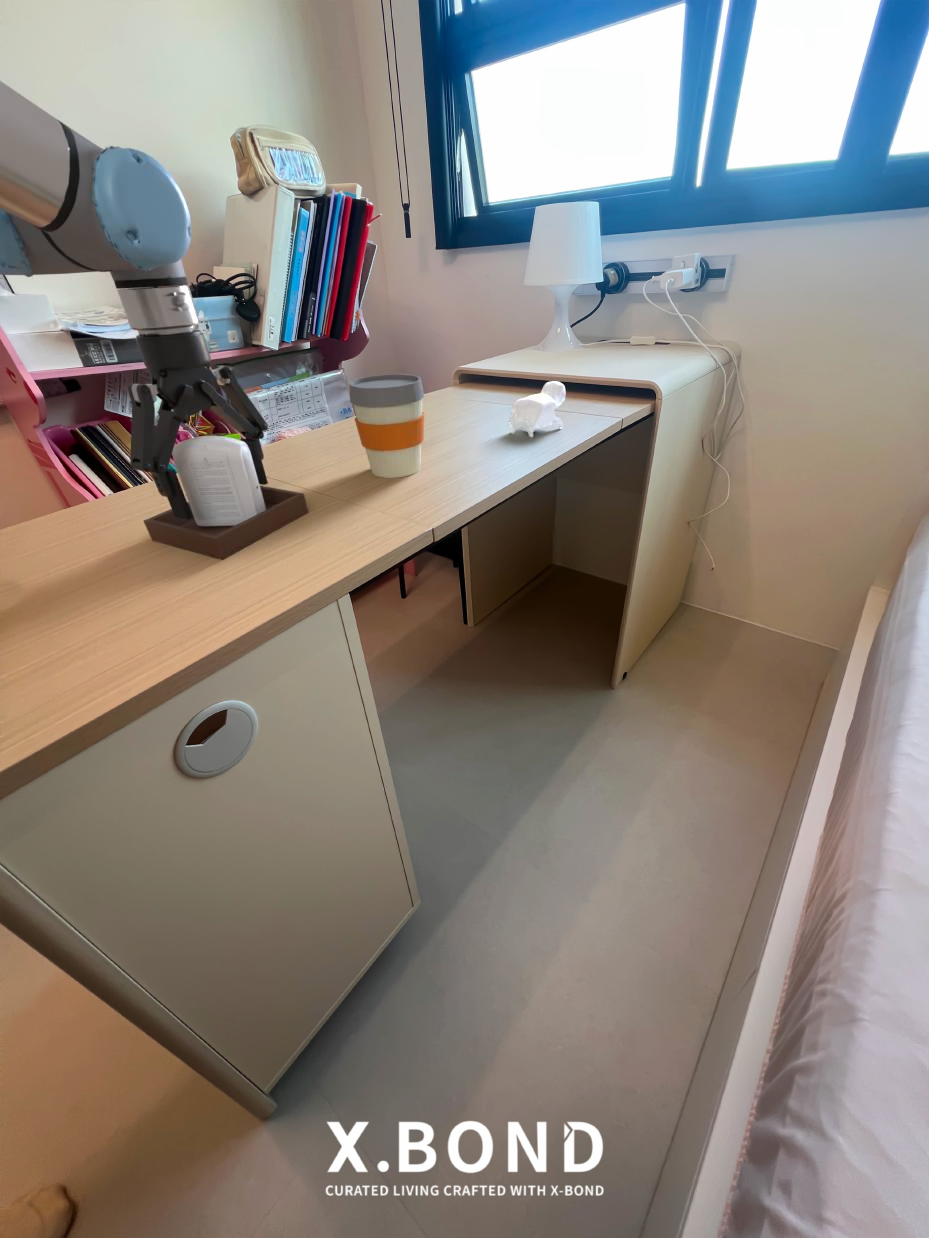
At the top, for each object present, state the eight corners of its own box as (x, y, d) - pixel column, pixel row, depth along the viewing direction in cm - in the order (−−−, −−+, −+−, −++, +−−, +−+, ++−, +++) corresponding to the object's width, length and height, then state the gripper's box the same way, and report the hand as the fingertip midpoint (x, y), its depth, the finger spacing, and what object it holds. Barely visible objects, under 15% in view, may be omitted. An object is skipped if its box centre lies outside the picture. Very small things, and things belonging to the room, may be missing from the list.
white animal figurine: (540, 451, 107) (579, 410, 112) (532, 415, 101) (574, 374, 106) (509, 444, 112) (547, 405, 117) (500, 410, 106) (541, 370, 111)
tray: (222, 560, 66) (214, 538, 65) (151, 540, 72) (143, 520, 70) (308, 512, 78) (304, 493, 76) (242, 499, 84) (236, 480, 82)
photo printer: (272, 514, 76) (249, 430, 69) (263, 526, 73) (237, 439, 66) (205, 517, 77) (175, 434, 70) (193, 529, 73) (160, 443, 66)
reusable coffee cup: (409, 454, 100) (400, 371, 91) (443, 470, 91) (436, 380, 83) (350, 468, 94) (335, 381, 86) (380, 487, 86) (367, 392, 77)
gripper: (81, 346, 50) (164, 539, 62) (267, 319, 68) (303, 474, 80) (40, 344, 53) (127, 529, 65) (229, 319, 71) (269, 468, 83)
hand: (224, 499), depth 73 cm, fingers open, 13 cm apart
